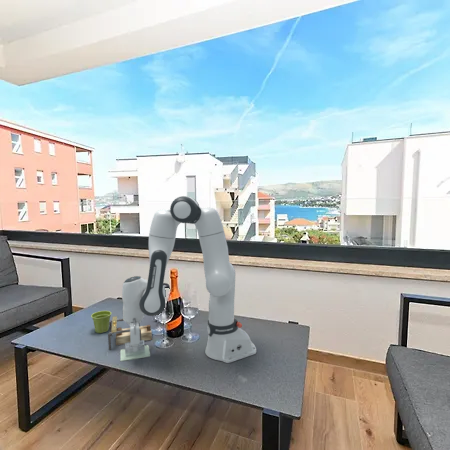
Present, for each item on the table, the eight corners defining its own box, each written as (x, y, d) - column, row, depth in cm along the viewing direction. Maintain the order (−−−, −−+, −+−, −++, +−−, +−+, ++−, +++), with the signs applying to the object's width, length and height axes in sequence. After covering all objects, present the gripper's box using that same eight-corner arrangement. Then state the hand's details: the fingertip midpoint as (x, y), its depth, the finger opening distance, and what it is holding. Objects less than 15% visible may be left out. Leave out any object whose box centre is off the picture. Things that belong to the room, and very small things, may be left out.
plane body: (149, 329, 148) (149, 315, 148) (152, 342, 135) (151, 326, 134) (110, 335, 142) (109, 320, 141) (108, 349, 129) (107, 333, 128)
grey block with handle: (144, 348, 129) (143, 338, 129) (144, 353, 125) (144, 343, 125) (125, 351, 127) (124, 341, 126) (125, 356, 123) (125, 346, 122)
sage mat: (148, 346, 132) (148, 345, 132) (150, 356, 124) (150, 355, 124) (120, 350, 128) (120, 349, 128) (120, 361, 120) (120, 360, 120)
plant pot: (98, 326, 152) (97, 310, 152) (115, 326, 152) (114, 310, 151) (88, 334, 143) (87, 317, 142) (106, 335, 142) (105, 318, 141)
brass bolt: (117, 318, 143) (116, 314, 143) (116, 332, 129) (116, 327, 129) (112, 319, 142) (112, 314, 142) (111, 332, 128) (111, 327, 128)
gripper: (143, 323, 116) (144, 356, 117) (140, 305, 135) (141, 333, 136) (126, 325, 113) (127, 359, 115) (125, 306, 133) (126, 335, 134)
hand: (134, 345), depth 126 cm, fingers open, 8 cm apart
